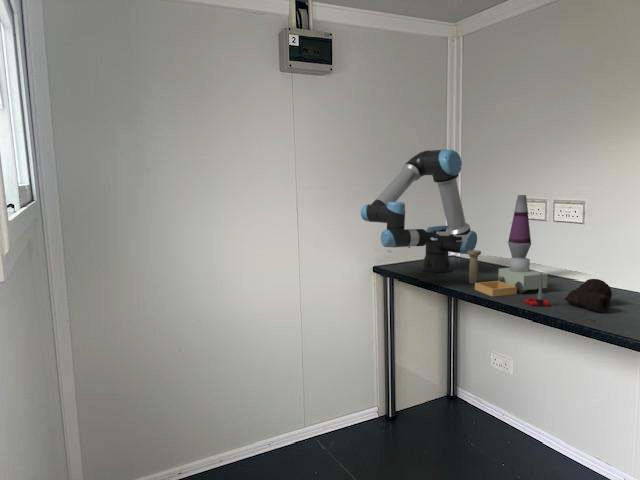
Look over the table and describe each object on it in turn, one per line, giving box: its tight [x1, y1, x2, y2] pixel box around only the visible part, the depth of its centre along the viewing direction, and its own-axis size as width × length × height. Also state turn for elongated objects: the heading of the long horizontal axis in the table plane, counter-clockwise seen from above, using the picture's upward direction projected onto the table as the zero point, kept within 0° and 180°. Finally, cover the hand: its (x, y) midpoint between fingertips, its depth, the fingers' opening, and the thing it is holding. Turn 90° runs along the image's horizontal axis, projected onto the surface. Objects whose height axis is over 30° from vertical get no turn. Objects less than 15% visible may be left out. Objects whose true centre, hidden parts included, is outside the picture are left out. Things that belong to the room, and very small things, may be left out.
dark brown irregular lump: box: [564, 278, 613, 313], centre depth 176 cm, size 10×15×15 cm
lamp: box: [507, 194, 532, 258], centre depth 217 cm, size 11×11×40 cm
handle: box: [466, 249, 482, 285], centre depth 213 cm, size 5×6×15 cm
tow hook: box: [524, 272, 550, 307], centre depth 181 cm, size 8×13×9 cm
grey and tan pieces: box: [474, 257, 549, 297], centre depth 200 cm, size 16×26×13 cm, turn 107°
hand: (457, 236), depth 208 cm, fingers open, 13 cm apart
